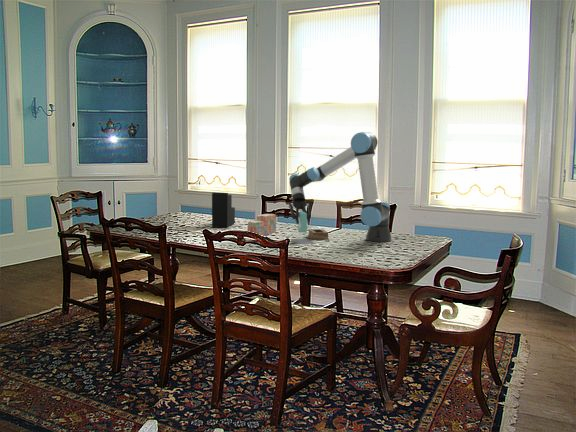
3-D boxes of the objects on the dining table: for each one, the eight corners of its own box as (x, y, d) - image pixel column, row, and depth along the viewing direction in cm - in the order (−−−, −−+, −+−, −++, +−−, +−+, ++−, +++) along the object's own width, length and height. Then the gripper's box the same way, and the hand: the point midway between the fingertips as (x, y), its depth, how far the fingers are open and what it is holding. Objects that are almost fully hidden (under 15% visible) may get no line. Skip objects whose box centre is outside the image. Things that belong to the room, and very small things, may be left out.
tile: (298, 230, 344) (298, 211, 343) (303, 230, 345) (303, 211, 344) (300, 232, 337) (300, 213, 335) (306, 232, 337) (306, 213, 336)
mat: (289, 239, 348) (289, 239, 348) (309, 239, 350) (309, 238, 350) (294, 244, 333) (294, 243, 333) (315, 244, 335) (315, 243, 335)
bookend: (220, 222, 411) (220, 189, 408) (235, 223, 409) (236, 190, 406) (211, 227, 388) (211, 192, 385) (227, 228, 386) (227, 193, 383)
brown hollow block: (307, 236, 360) (308, 229, 360) (323, 236, 362) (323, 229, 361) (312, 240, 347) (312, 232, 347) (328, 240, 349) (329, 232, 349)
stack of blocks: (255, 237, 353) (255, 217, 352) (247, 236, 357) (247, 216, 355) (276, 233, 371) (276, 214, 369) (268, 232, 374) (268, 213, 373)
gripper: (310, 200, 355) (316, 231, 341) (283, 200, 352) (288, 231, 338) (312, 192, 349) (318, 223, 335) (285, 192, 346) (290, 224, 332)
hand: (303, 227), depth 337 cm, fingers closed on tile, 3 cm apart
